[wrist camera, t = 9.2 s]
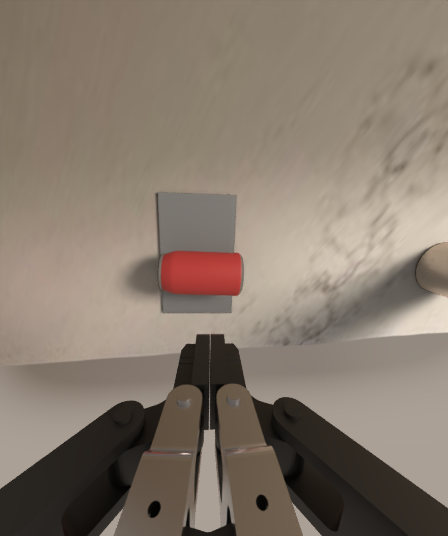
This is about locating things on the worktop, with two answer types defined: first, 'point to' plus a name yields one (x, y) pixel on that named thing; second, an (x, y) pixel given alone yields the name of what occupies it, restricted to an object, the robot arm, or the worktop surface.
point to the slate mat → (196, 240)
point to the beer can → (201, 273)
